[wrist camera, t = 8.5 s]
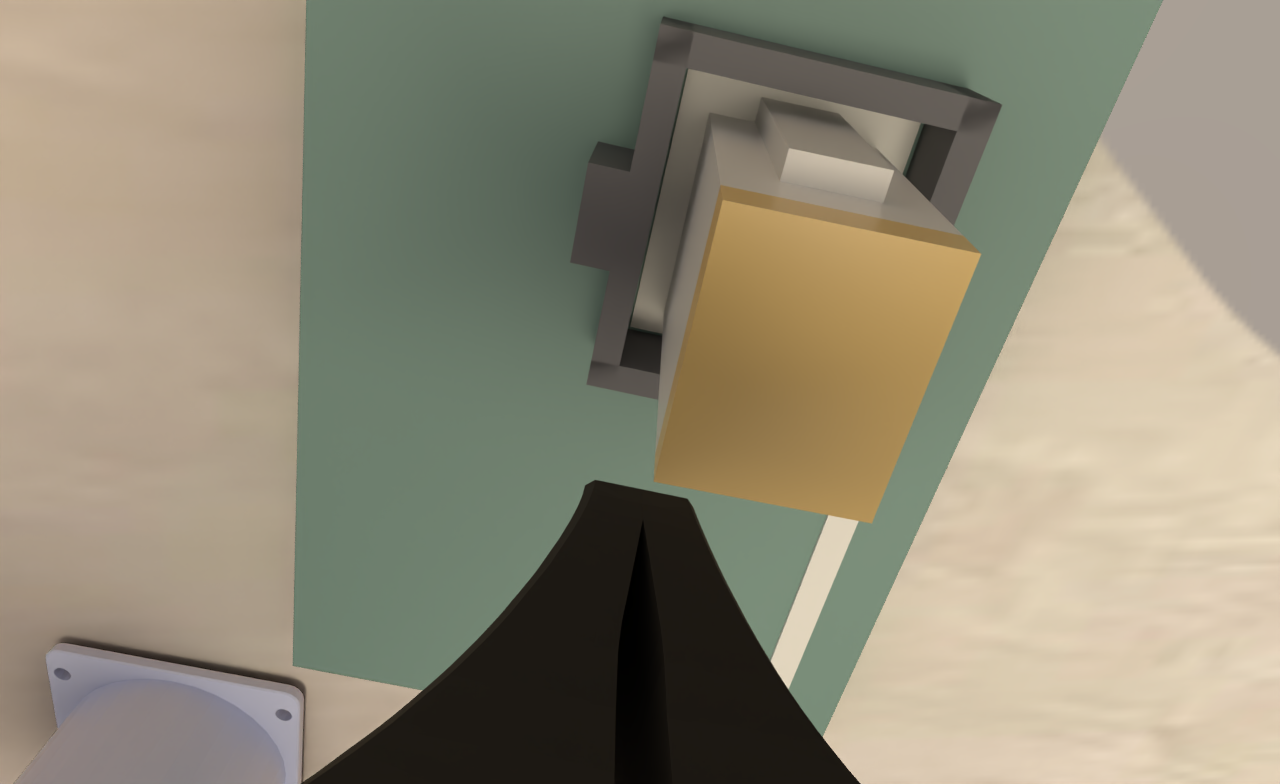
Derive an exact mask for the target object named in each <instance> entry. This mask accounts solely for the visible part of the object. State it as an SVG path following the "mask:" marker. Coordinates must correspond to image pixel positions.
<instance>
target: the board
mask: <svg viewBox="0 0 1280 784" xmlns="http://www.w3.org/2000/svg"><path fill="white" fill-rule="evenodd" d="M1162 1H1163V0H306V42H305V91H304V140H303V189H302V238H301V287H300V336H299V385H298V434H297V483H296V532H295V581H294V630H293V666H296V667H301V668H307V669H312V670H317V671H323V672H328V673H333V674H339V675H344V676H349V677H355V678H360V679H365V680H371V681H376V682H381V683H387V684H392V685H397V686H403V687H408V688H413V689H419V690H424V689H425V688H426V687H427V686H428V685H429V684H431V683H432V682H433V681H434V680H435V679H436V678H437V677H438V676H440V675H441V674H442V673H443V672H444V671H445V670H446V669H447V668H448V667H450V666H451V665H452V664H453V663H454V662H455V661H456V660H457V659H458V658H459V657H460V656H461V655H462V654H463V653H464V652H465V651H466V650H467V649H468V648H469V647H470V646H471V645H472V644H473V643H474V642H475V641H476V640H477V639H478V638H479V637H480V636H481V635H482V634H483V633H484V632H485V631H486V630H487V628H488V627H489V626H490V625H491V624H492V623H493V622H494V621H495V620H496V619H497V618H498V617H499V615H500V614H501V613H502V612H503V611H504V610H505V608H506V607H507V606H508V605H509V604H510V602H511V601H512V600H513V599H514V598H515V596H516V595H517V594H518V593H519V592H520V590H521V589H522V588H523V587H524V586H525V584H526V583H527V582H528V581H529V580H530V578H531V577H532V576H533V575H534V573H535V572H536V571H537V569H538V568H539V567H540V565H541V564H542V562H543V561H544V559H545V558H546V557H547V555H548V554H549V552H550V551H551V549H552V548H553V547H554V545H555V544H556V542H557V541H558V540H559V538H560V537H561V535H562V533H563V532H564V530H565V528H566V527H567V525H568V523H569V522H570V520H571V518H572V516H573V514H574V513H575V511H576V509H577V507H578V504H579V502H580V500H581V497H582V495H583V491H584V487H585V485H586V484H588V483H590V482H592V481H594V480H599V481H604V482H609V483H614V484H619V485H624V486H629V487H634V488H639V489H643V490H648V491H653V492H658V493H663V494H668V495H673V496H678V497H683V498H687V499H688V500H689V501H690V503H691V504H692V506H693V508H694V510H695V513H696V515H697V518H698V520H699V523H700V525H701V528H702V530H703V532H704V535H705V537H706V539H707V541H708V544H709V546H710V548H711V550H712V553H713V555H714V557H715V559H716V561H717V563H718V566H719V568H720V570H721V572H722V574H723V576H724V578H725V580H726V582H727V584H728V586H729V588H730V590H731V592H732V594H733V596H734V597H735V599H736V601H737V603H738V605H739V607H740V609H741V611H742V613H743V614H744V616H745V618H746V620H747V622H748V624H749V626H750V627H751V629H752V631H753V633H754V634H755V636H756V638H757V640H758V641H759V643H760V645H761V646H762V648H763V650H764V651H765V653H766V655H767V656H768V658H769V659H770V661H771V663H772V664H773V666H774V668H775V669H776V671H777V672H778V674H779V676H780V677H781V679H782V680H783V682H784V683H785V685H786V686H787V688H788V689H789V691H790V693H791V694H792V695H793V697H794V698H795V700H796V701H797V703H798V704H799V706H800V707H801V709H802V710H803V711H804V713H805V714H806V715H807V717H808V718H809V720H810V721H811V722H812V724H813V725H814V726H815V728H816V729H817V730H818V732H819V733H820V734H821V736H822V737H823V735H824V732H825V730H826V728H827V726H828V724H829V722H830V720H831V717H832V715H833V713H834V711H835V709H836V707H837V704H838V702H839V700H840V698H841V696H842V694H843V691H844V689H845V687H846V685H847V683H848V681H849V678H850V676H851V674H852V672H853V670H854V668H855V665H856V663H857V661H858V659H859V657H860V655H861V652H862V650H863V648H864V646H865V644H866V642H867V639H868V637H869V635H870V633H871V631H872V629H873V626H874V624H875V622H876V620H877V618H878V616H879V614H880V611H881V609H882V607H883V605H884V603H885V601H886V598H887V596H888V594H889V592H890V590H891V588H892V585H893V583H894V581H895V579H896V577H897V575H898V572H899V570H900V568H901V566H902V564H903V562H904V559H905V557H906V555H907V553H908V551H909V549H910V546H911V544H912V542H913V540H914V538H915V536H916V533H917V531H918V529H919V527H920V525H921V523H922V520H923V518H924V516H925V514H926V512H927V510H928V508H929V505H930V503H931V501H932V499H933V497H934V495H935V492H936V490H937V488H938V486H939V484H940V482H941V479H942V477H943V475H944V473H945V471H946V469H947V466H948V464H949V462H950V460H951V458H952V456H953V453H954V451H955V449H956V447H957V445H958V443H959V440H960V438H961V436H962V434H963V432H964V430H965V427H966V425H967V423H968V421H969V419H970V417H971V414H972V412H973V410H974V408H975V406H976V404H977V402H978V399H979V397H980V395H981V393H982V391H983V389H984V386H985V384H986V382H987V380H988V378H989V376H990V373H991V371H992V369H993V367H994V365H995V363H996V360H997V358H998V356H999V354H1000V352H1001V350H1002V347H1003V345H1004V343H1005V341H1006V339H1007V337H1008V334H1009V332H1010V330H1011V328H1012V326H1013V324H1014V321H1015V319H1016V317H1017V315H1018V313H1019V311H1020V308H1021V306H1022V304H1023V302H1024V300H1025V298H1026V296H1027V293H1028V291H1029V289H1030V287H1031V285H1032V283H1033V280H1034V278H1035V276H1036V274H1037V272H1038V270H1039V267H1040V265H1041V263H1042V261H1043V259H1044V257H1045V254H1046V252H1047V250H1048V248H1049V246H1050V244H1051V241H1052V239H1053V237H1054V235H1055V233H1056V231H1057V228H1058V226H1059V224H1060V222H1061V220H1062V218H1063V215H1064V213H1065V211H1066V209H1067V207H1068V205H1069V202H1070V200H1071V198H1072V196H1073V194H1074V192H1075V190H1076V187H1077V185H1078V183H1079V181H1080V179H1081V177H1082V174H1083V172H1084V170H1085V168H1086V166H1087V164H1088V161H1089V159H1090V157H1091V155H1092V153H1093V151H1094V148H1095V146H1096V144H1097V142H1098V140H1099V138H1100V135H1101V133H1102V131H1103V129H1104V127H1105V124H1106V122H1107V120H1108V118H1109V116H1110V114H1111V112H1112V109H1113V107H1114V105H1115V103H1116V101H1117V98H1118V96H1119V94H1120V92H1121V90H1122V88H1123V86H1124V83H1125V81H1126V79H1127V77H1128V75H1129V73H1130V70H1131V68H1132V66H1133V64H1134V62H1135V60H1136V57H1137V55H1138V53H1139V51H1140V48H1141V47H1142V45H1143V42H1144V40H1145V38H1146V36H1147V34H1148V32H1149V29H1150V27H1151V25H1152V23H1153V21H1154V19H1155V16H1156V14H1157V12H1158V10H1159V8H1160V6H1161V3H1162ZM761 97H765V98H769V99H774V100H778V101H783V102H788V103H792V104H797V105H802V106H806V107H811V108H816V109H820V110H825V111H830V112H834V113H839V114H840V115H841V116H842V117H843V118H844V119H845V120H846V121H847V122H848V123H849V124H850V125H851V126H852V127H853V128H854V130H855V131H856V132H857V133H858V134H859V135H860V136H861V137H862V138H863V139H864V140H865V141H866V142H867V143H868V144H869V145H870V146H871V147H873V148H877V149H878V150H879V151H880V152H881V153H882V154H883V155H884V156H885V157H886V158H887V159H888V160H889V161H890V162H891V163H892V164H893V165H894V166H895V167H896V168H897V169H898V170H899V171H900V172H901V173H902V174H903V175H904V176H905V177H906V178H907V179H908V180H909V181H910V182H911V183H912V184H913V185H914V186H915V187H916V188H917V189H918V190H919V191H920V192H921V193H922V195H923V196H924V197H925V198H926V199H927V200H928V201H929V202H930V203H931V204H932V205H933V206H934V207H935V208H936V209H937V210H938V211H939V212H940V213H941V214H942V215H943V216H944V217H945V218H946V219H947V220H948V221H949V222H950V223H951V224H952V225H953V226H954V227H955V228H956V229H957V230H958V231H959V232H960V233H961V234H962V235H963V236H964V237H965V238H966V239H967V240H968V241H969V242H970V243H971V244H972V245H973V246H974V247H975V248H976V249H977V250H978V251H979V252H980V253H981V256H980V258H979V261H978V263H977V266H976V268H975V271H974V273H973V276H972V278H971V281H970V283H969V285H968V288H967V290H966V293H965V295H964V298H963V300H962V303H961V305H960V308H959V310H958V313H957V315H956V317H955V320H954V322H953V325H952V327H951V330H950V332H949V335H948V337H947V340H946V342H945V345H944V347H943V349H942V352H941V354H940V357H939V359H938V362H937V364H936V367H935V369H934V372H933V374H932V376H931V379H930V381H929V384H928V386H927V389H926V391H925V394H924V396H923V399H922V401H921V404H920V406H919V408H918V411H917V413H916V416H915V418H914V421H913V423H912V426H911V428H910V431H909V433H908V435H907V438H906V440H905V443H904V445H903V448H902V450H901V453H900V455H899V458H898V460H897V463H896V465H895V467H894V470H893V472H892V475H891V477H890V480H889V482H888V485H887V487H886V490H885V492H884V495H883V497H882V499H881V502H880V504H879V507H878V509H877V512H876V514H875V517H874V519H873V522H872V523H866V522H861V521H856V520H851V519H846V518H840V517H835V516H830V515H825V514H819V513H814V512H809V511H804V510H798V509H793V508H788V507H783V506H778V505H772V504H767V503H762V502H757V501H751V500H746V499H741V498H736V497H730V496H725V495H720V494H715V493H710V492H704V491H699V490H694V489H689V488H683V487H678V486H673V485H668V484H663V483H657V482H654V467H655V450H656V433H657V417H658V400H659V383H660V366H661V350H662V333H663V316H664V310H665V306H666V302H667V297H668V293H669V288H670V284H671V280H672V275H673V271H674V266H675V262H676V258H677V253H678V249H679V244H680V240H681V235H682V231H683V227H684V222H685V218H686V213H687V209H688V205H689V200H690V196H691V191H692V187H693V182H694V178H695V174H696V169H697V165H698V160H699V156H700V152H701V147H702V143H703V138H704V134H705V129H706V125H707V121H708V116H709V112H710V113H714V114H719V115H724V116H728V117H733V118H738V119H742V120H747V121H752V122H755V121H756V117H757V113H758V109H759V105H760V101H761Z"/></svg>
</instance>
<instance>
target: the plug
mask: <svg viewBox="0 0 1280 784" xmlns="http://www.w3.org/2000/svg"><path fill="white" fill-rule="evenodd" d="M980 256H981V253H980V252H979V251H978V250H977V249H976V248H975V247H974V246H973V245H972V244H971V243H970V242H969V241H968V240H967V239H966V238H965V237H964V236H963V235H962V234H961V233H960V232H959V231H958V230H957V229H956V228H955V227H954V226H953V225H952V224H951V223H950V222H949V221H948V220H947V219H946V218H945V217H944V216H943V215H942V214H941V213H940V212H939V211H938V210H937V209H936V208H935V207H934V206H933V205H932V204H931V203H930V202H929V201H928V200H927V199H926V198H925V197H924V196H923V195H922V193H921V192H920V191H919V190H918V189H917V188H916V187H915V186H914V185H913V184H912V183H911V182H910V181H909V180H908V179H907V178H906V177H905V176H904V175H903V174H902V173H901V172H900V171H899V170H898V169H897V168H896V167H895V166H894V165H893V164H892V163H891V162H890V161H889V160H888V159H887V158H886V157H885V156H884V155H883V154H882V153H881V152H880V151H879V150H878V149H877V148H873V147H871V146H870V145H869V144H868V143H867V142H866V141H865V140H864V139H863V138H862V137H861V136H860V135H859V134H858V133H857V132H856V131H855V130H854V128H853V127H852V126H851V125H850V124H849V123H848V122H847V121H846V120H845V119H844V118H843V117H842V116H841V115H840V114H839V113H834V112H830V111H825V110H820V109H816V108H811V107H806V106H802V105H797V104H792V103H788V102H783V101H778V100H774V99H769V98H765V97H761V101H760V105H759V109H758V113H757V117H756V121H755V122H752V121H747V120H742V119H738V118H733V117H728V116H724V115H719V114H714V113H710V112H709V116H708V121H707V125H706V129H705V134H704V138H703V143H702V147H701V152H700V156H699V160H698V165H697V169H696V174H695V178H694V182H693V187H692V191H691V196H690V200H689V205H688V209H687V213H686V218H685V222H684V227H683V231H682V235H681V240H680V244H679V249H678V253H677V258H676V262H675V266H674V271H673V275H672V280H671V284H670V288H669V293H668V297H667V302H666V306H665V310H664V316H663V333H662V350H661V366H660V383H659V400H658V417H657V433H656V450H655V467H654V482H657V483H663V484H668V485H673V486H678V487H683V488H689V489H694V490H699V491H704V492H710V493H715V494H720V495H725V496H730V497H736V498H741V499H746V500H751V501H757V502H762V503H767V504H772V505H778V506H783V507H788V508H793V509H798V510H804V511H809V512H814V513H819V514H825V515H830V516H835V517H840V518H846V519H851V520H856V521H861V522H866V523H872V522H873V519H874V517H875V514H876V512H877V509H878V507H879V504H880V502H881V499H882V497H883V495H884V492H885V490H886V487H887V485H888V482H889V480H890V477H891V475H892V472H893V470H894V467H895V465H896V463H897V460H898V458H899V455H900V453H901V450H902V448H903V445H904V443H905V440H906V438H907V435H908V433H909V431H910V428H911V426H912V423H913V421H914V418H915V416H916V413H917V411H918V408H919V406H920V404H921V401H922V399H923V396H924V394H925V391H926V389H927V386H928V384H929V381H930V379H931V376H932V374H933V372H934V369H935V367H936V364H937V362H938V359H939V357H940V354H941V352H942V349H943V347H944V345H945V342H946V340H947V337H948V335H949V332H950V330H951V327H952V325H953V322H954V320H955V317H956V315H957V313H958V310H959V308H960V305H961V303H962V300H963V298H964V295H965V293H966V290H967V288H968V285H969V283H970V281H971V278H972V276H973V273H974V271H975V268H976V266H977V263H978V261H979V258H980Z"/></svg>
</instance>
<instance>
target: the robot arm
mask: <svg viewBox="0 0 1280 784" xmlns="http://www.w3.org/2000/svg"><path fill="white" fill-rule="evenodd" d="M46 665H47V670H48V676H49V682H50V688H51V694H52V699H53V705H54V711H55V717H56V722H57V728H58V729H57V731H56V732H55V733H54V734H53V735H52V737H51V738H50V739H49V740H48V742H47V743H46V744H45V745H44V747H43V748H42V749H41V750H40V752H39V753H38V754H37V755H36V756H35V758H34V759H33V760H32V761H31V763H30V764H29V765H28V766H27V768H26V769H25V770H24V771H23V773H22V774H21V775H20V776H19V777H18V779H17V780H16V781H15V782H14V784H860V783H859V781H858V780H857V779H856V778H855V777H854V776H853V775H852V773H851V772H850V771H849V770H848V769H847V767H846V766H845V765H844V764H843V763H842V761H841V760H840V759H839V758H838V756H837V755H836V754H835V753H834V751H833V750H832V749H831V748H830V746H829V745H828V744H827V743H826V741H825V740H824V739H823V737H822V736H821V734H820V733H819V732H818V730H817V729H816V728H815V726H814V725H813V724H812V722H811V721H810V720H809V718H808V717H807V715H806V714H805V713H804V711H803V710H802V709H801V707H800V706H799V704H798V703H797V701H796V700H795V698H794V697H793V695H792V694H791V693H790V691H789V689H788V688H787V686H786V685H785V683H784V682H783V680H782V679H781V677H780V676H779V674H778V672H777V671H776V669H775V668H774V666H773V664H772V663H771V661H770V659H769V658H768V656H767V655H766V653H765V651H764V650H763V648H762V646H761V645H760V643H759V641H758V640H757V638H756V636H755V634H754V633H753V631H752V629H751V627H750V626H749V624H748V622H747V620H746V618H745V616H744V614H743V613H742V611H741V609H740V607H739V605H738V603H737V601H736V599H735V597H734V596H733V594H732V592H731V590H730V588H729V586H728V584H727V582H726V580H725V578H724V576H723V574H722V572H721V570H720V568H719V566H718V563H717V561H716V559H715V557H714V555H713V553H712V550H711V548H710V546H709V544H708V541H707V539H706V537H705V535H704V532H703V530H702V528H701V525H700V523H699V520H698V518H697V515H696V513H695V510H694V508H693V506H692V504H691V503H690V501H689V500H688V499H687V498H683V497H678V496H673V495H668V494H663V493H658V492H653V491H648V490H643V489H639V488H634V487H629V486H624V485H619V484H614V483H609V482H604V481H599V480H594V481H592V482H590V483H588V484H586V485H585V487H584V491H583V495H582V497H581V500H580V502H579V504H578V507H577V509H576V511H575V513H574V514H573V516H572V518H571V520H570V522H569V523H568V525H567V527H566V528H565V530H564V532H563V533H562V535H561V537H560V538H559V540H558V541H557V542H556V544H555V545H554V547H553V548H552V549H551V551H550V552H549V554H548V555H547V557H546V558H545V559H544V561H543V562H542V564H541V565H540V567H539V568H538V569H537V571H536V572H535V573H534V575H533V576H532V577H531V578H530V580H529V581H528V582H527V583H526V584H525V586H524V587H523V588H522V589H521V590H520V592H519V593H518V594H517V595H516V596H515V598H514V599H513V600H512V601H511V602H510V604H509V605H508V606H507V607H506V608H505V610H504V611H503V612H502V613H501V614H500V615H499V617H498V618H497V619H496V620H495V621H494V622H493V623H492V624H491V625H490V626H489V627H488V628H487V630H486V631H485V632H484V633H483V634H482V635H481V636H480V637H479V638H478V639H477V640H476V641H475V642H474V643H473V644H472V645H471V646H470V647H469V648H468V649H467V650H466V651H465V652H464V653H463V654H462V655H461V656H460V657H459V658H458V659H457V660H456V661H455V662H454V663H453V664H452V665H451V666H450V667H448V668H447V669H446V670H445V671H444V672H443V673H442V674H441V675H440V676H438V677H437V678H436V679H435V680H434V681H433V682H432V683H431V684H429V685H428V686H427V687H426V688H425V689H424V690H423V691H422V692H420V693H419V694H418V695H417V696H416V697H415V698H414V699H412V700H411V701H410V702H409V703H408V704H407V705H405V706H404V707H403V708H402V709H401V710H399V711H398V712H397V713H396V714H395V715H393V716H392V717H391V718H390V719H388V720H387V721H386V722H385V723H383V724H382V725H381V726H380V727H378V728H377V729H376V730H374V731H373V732H371V733H370V734H369V735H367V736H366V737H365V738H363V739H362V740H361V741H359V742H358V743H356V744H355V745H354V746H352V747H351V748H350V749H348V750H347V751H346V752H344V753H343V754H341V755H340V756H339V757H337V758H336V759H335V760H333V761H332V762H331V763H329V764H328V765H327V766H325V767H324V768H322V769H321V770H320V771H318V772H317V773H316V774H314V775H313V776H311V777H310V778H309V779H307V780H306V781H304V782H303V783H301V780H302V746H303V713H304V697H303V694H302V692H301V691H300V690H299V689H298V688H296V687H295V686H292V685H288V684H283V683H277V682H272V681H267V680H261V679H256V678H251V677H245V676H240V675H234V674H229V673H224V672H218V671H213V670H208V669H202V668H197V667H192V666H186V665H181V664H175V663H170V662H165V661H159V660H154V659H149V658H143V657H138V656H133V655H127V654H122V653H116V652H111V651H106V650H100V649H95V648H90V647H84V646H79V645H74V644H68V643H59V644H56V645H54V646H53V648H52V649H51V650H50V651H49V652H48V653H47V654H46Z"/></svg>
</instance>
